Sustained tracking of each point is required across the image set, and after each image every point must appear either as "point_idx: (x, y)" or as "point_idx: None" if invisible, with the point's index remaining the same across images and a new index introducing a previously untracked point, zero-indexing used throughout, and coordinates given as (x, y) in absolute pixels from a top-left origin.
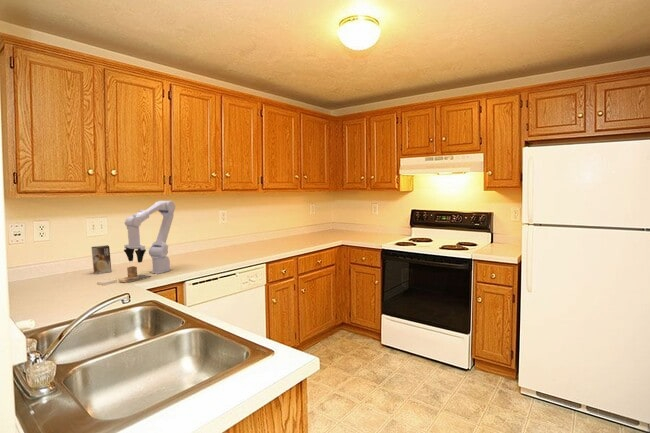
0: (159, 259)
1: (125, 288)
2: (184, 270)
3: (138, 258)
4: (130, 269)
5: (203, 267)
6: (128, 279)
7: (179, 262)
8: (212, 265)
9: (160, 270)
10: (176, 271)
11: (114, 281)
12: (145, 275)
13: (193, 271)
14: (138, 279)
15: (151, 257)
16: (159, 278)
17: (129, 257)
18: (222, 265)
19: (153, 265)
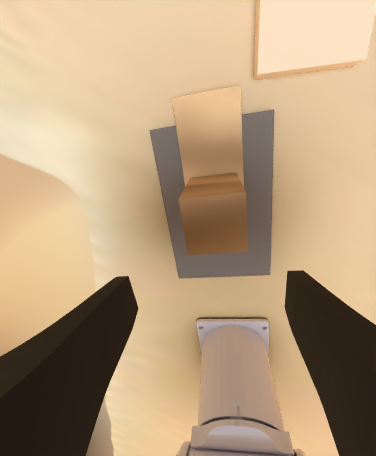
0: (202, 416)
1: (16, 16)
2: (158, 380)
3: (72, 310)
4: (195, 193)
5: (141, 416)
6: (179, 142)
7: (302, 446)
8: (142, 434)
9: (205, 343)
10: (170, 364)
11: (256, 54)
12: (219, 272)
13: (113, 379)
14: (164, 201)
15: (284, 434)
16: (109, 271)
17: (314, 317)
18: (116, 438)
19: (241, 362)
